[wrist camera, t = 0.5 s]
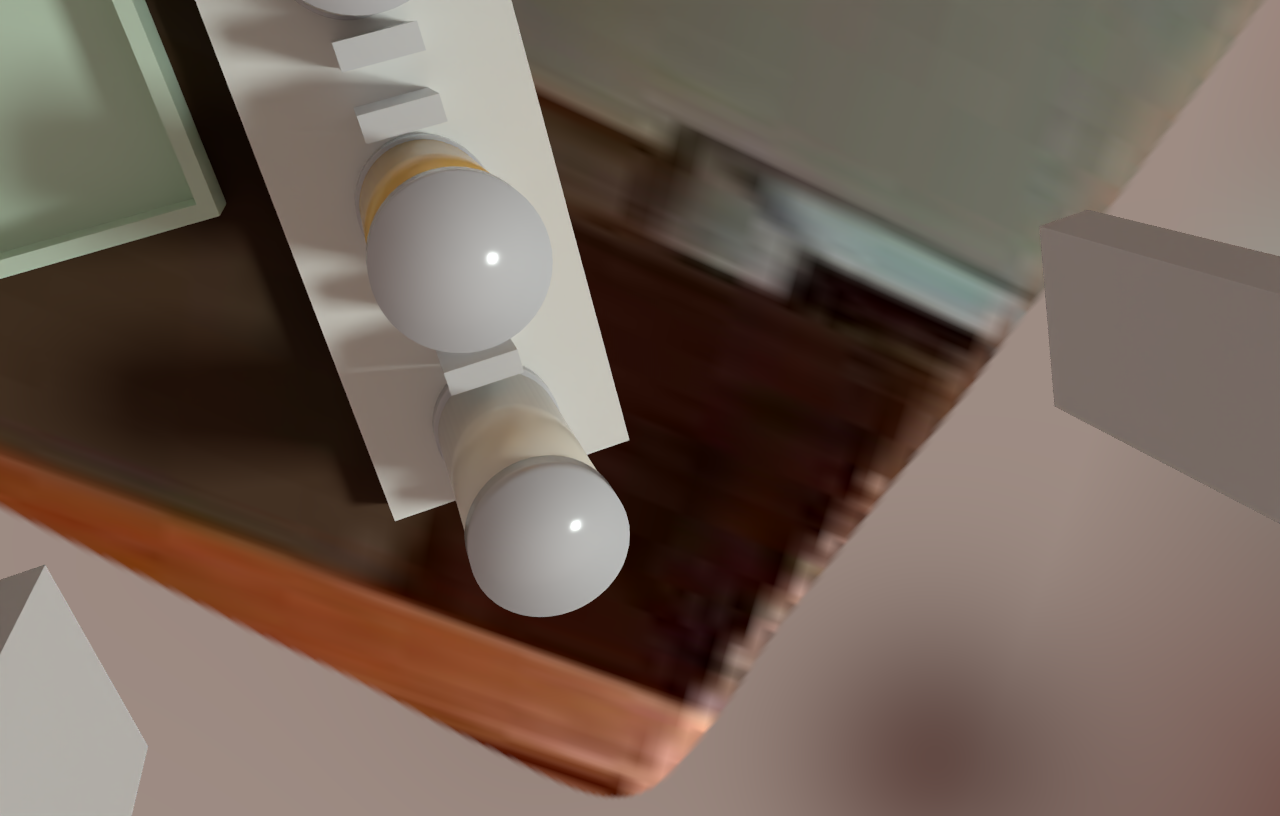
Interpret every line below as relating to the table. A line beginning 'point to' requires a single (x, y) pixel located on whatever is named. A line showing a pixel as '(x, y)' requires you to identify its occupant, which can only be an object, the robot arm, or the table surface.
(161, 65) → the tray
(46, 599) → the robot arm
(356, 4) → the ball
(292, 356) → the table surface
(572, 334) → the fuse panel
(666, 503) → the table surface
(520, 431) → the fuse cream far
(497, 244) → the fuse amber
